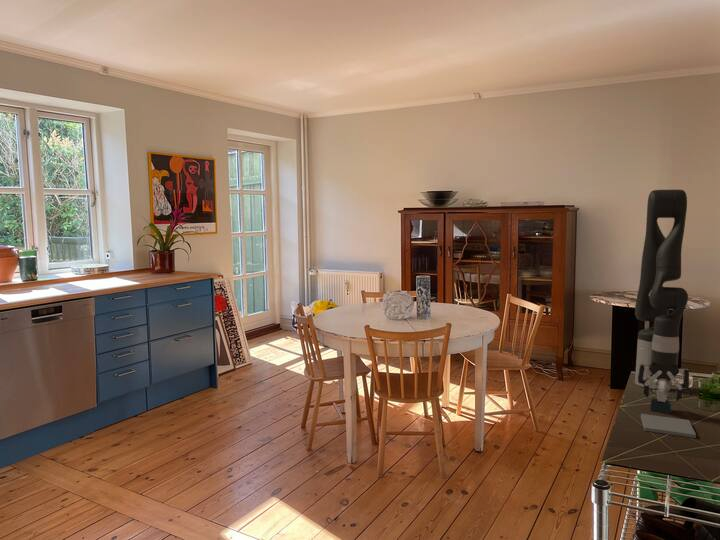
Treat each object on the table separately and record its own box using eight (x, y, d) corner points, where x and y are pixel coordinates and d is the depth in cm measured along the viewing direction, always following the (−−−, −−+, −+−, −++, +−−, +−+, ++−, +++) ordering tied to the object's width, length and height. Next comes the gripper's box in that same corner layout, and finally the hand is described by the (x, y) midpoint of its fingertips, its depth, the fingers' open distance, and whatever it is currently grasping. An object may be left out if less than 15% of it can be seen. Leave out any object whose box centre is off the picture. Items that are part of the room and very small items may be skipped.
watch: (671, 408, 177) (674, 375, 176) (669, 416, 171) (672, 382, 169) (652, 405, 180) (654, 372, 179) (649, 412, 174) (651, 378, 173)
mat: (640, 416, 170) (640, 413, 170) (688, 423, 165) (688, 420, 165) (644, 430, 159) (644, 427, 159) (695, 438, 154) (696, 434, 154)
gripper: (688, 348, 174) (685, 398, 175) (639, 344, 179) (636, 392, 181) (692, 354, 167) (689, 405, 169) (641, 349, 173) (637, 398, 174)
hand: (661, 398), depth 175 cm, fingers open, 8 cm apart
